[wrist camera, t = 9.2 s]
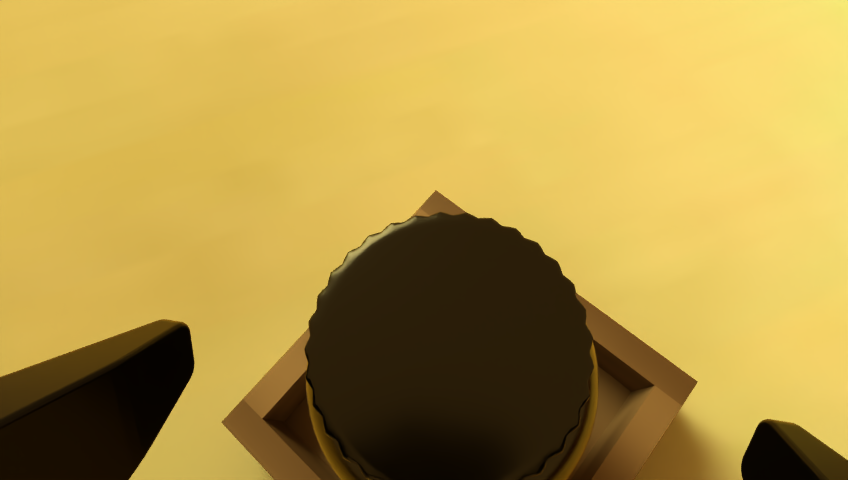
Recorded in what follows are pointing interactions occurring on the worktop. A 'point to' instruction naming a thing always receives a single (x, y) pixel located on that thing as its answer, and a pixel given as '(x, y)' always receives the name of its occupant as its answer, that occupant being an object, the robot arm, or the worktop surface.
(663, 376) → the walnut tray
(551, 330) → the supplement bottle
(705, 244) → the worktop surface
